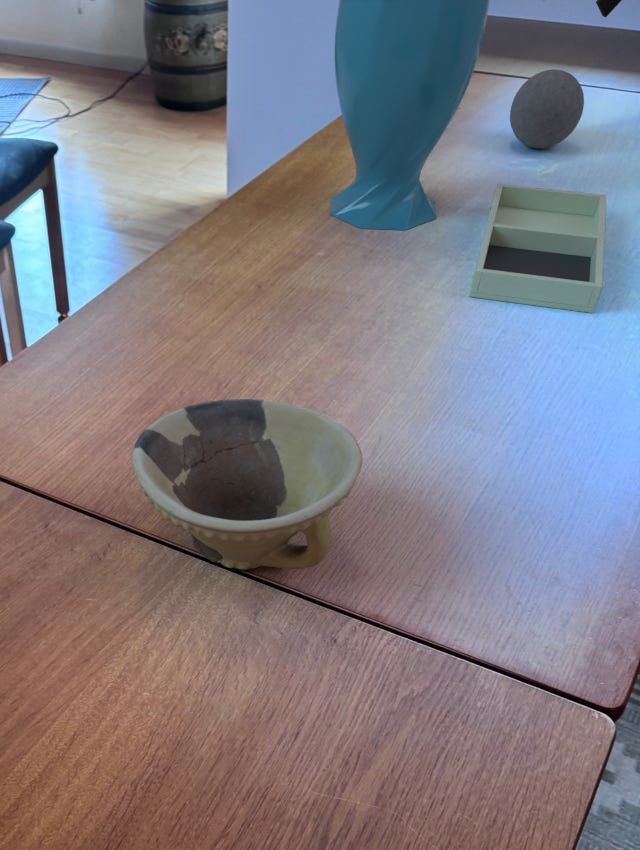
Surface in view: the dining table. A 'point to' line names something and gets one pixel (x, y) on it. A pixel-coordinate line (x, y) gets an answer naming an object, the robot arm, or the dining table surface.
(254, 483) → the bowl
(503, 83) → the dining table surface
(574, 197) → the organizer
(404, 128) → the vase
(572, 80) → the decorative ball
